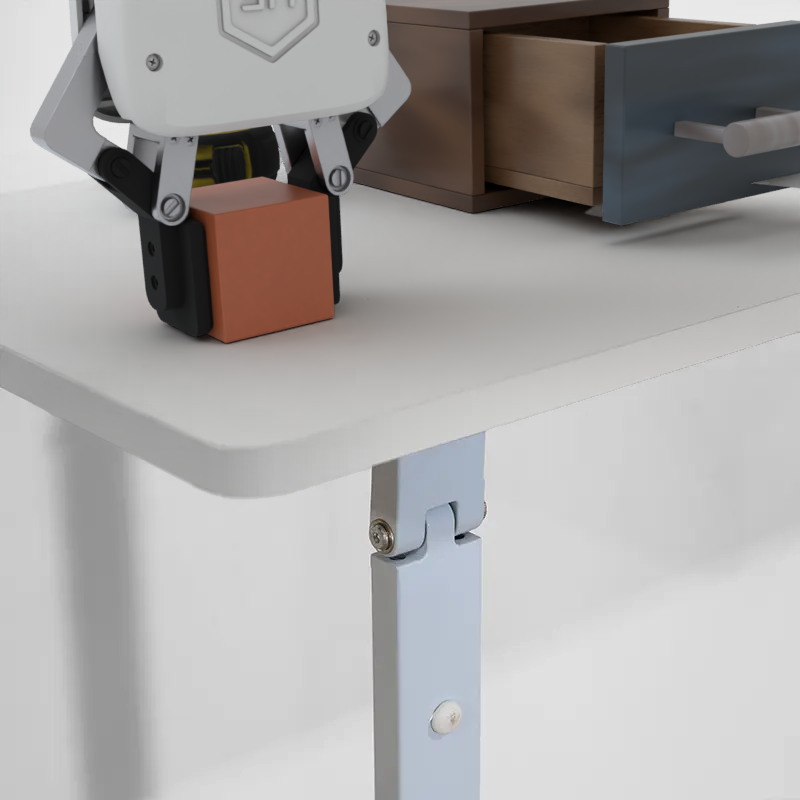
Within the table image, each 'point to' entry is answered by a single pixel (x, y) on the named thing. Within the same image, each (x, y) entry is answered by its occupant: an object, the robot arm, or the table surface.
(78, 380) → the table surface
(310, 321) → the block
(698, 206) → the drawer
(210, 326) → the robot arm
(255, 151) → the tape measure
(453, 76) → the cabinet
